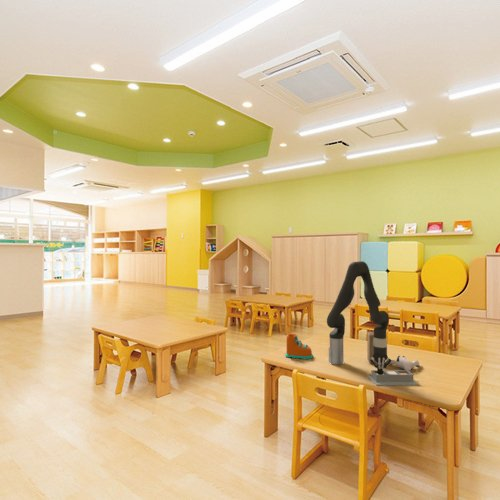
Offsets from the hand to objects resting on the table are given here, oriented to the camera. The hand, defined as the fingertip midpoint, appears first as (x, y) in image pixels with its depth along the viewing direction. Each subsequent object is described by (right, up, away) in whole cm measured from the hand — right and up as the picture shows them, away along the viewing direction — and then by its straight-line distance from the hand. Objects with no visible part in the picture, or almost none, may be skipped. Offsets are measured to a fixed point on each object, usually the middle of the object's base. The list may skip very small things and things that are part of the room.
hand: (380, 374), depth 199 cm
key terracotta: (+14, -2, 0) cm, 14 cm away
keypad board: (+7, -4, 0) cm, 8 cm away
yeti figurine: (+24, -4, +24) cm, 34 cm away
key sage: (0, -2, 0) cm, 2 cm away
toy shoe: (-41, -4, +46) cm, 62 cm away
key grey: (+7, -1, 0) cm, 7 cm away
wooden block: (+9, -4, +32) cm, 34 cm away
